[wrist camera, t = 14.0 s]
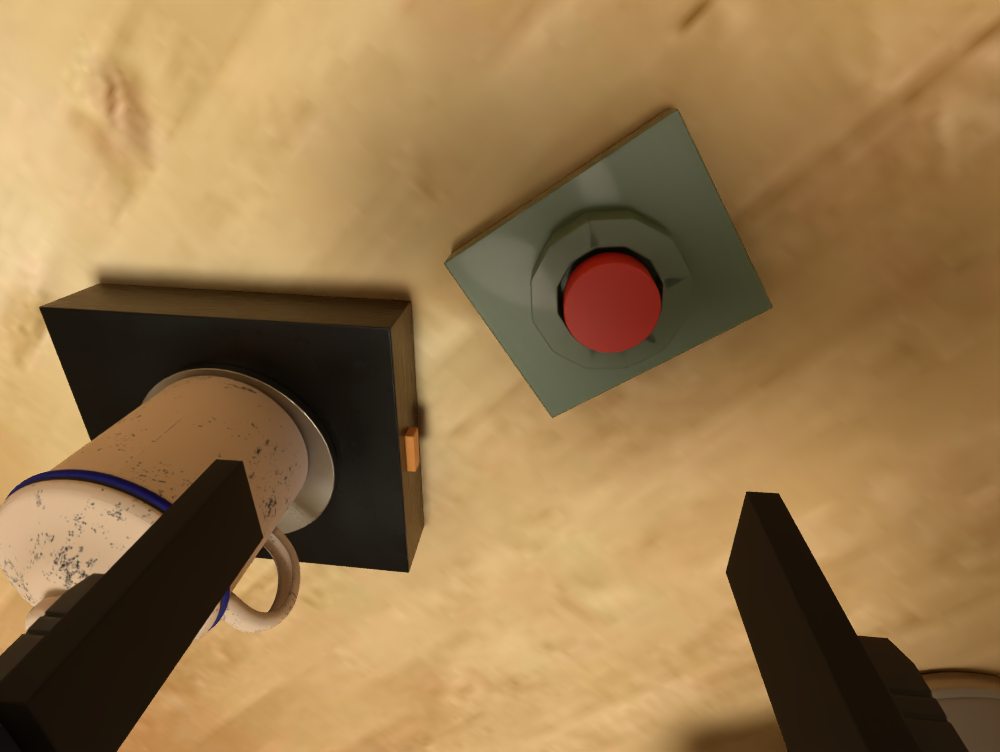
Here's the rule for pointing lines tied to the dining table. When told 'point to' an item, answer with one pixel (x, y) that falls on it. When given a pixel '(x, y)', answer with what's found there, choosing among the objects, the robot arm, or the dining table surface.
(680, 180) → the box
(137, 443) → the teacup with lid
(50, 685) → the robot arm
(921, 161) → the dining table surface
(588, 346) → the button
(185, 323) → the cup warmer
